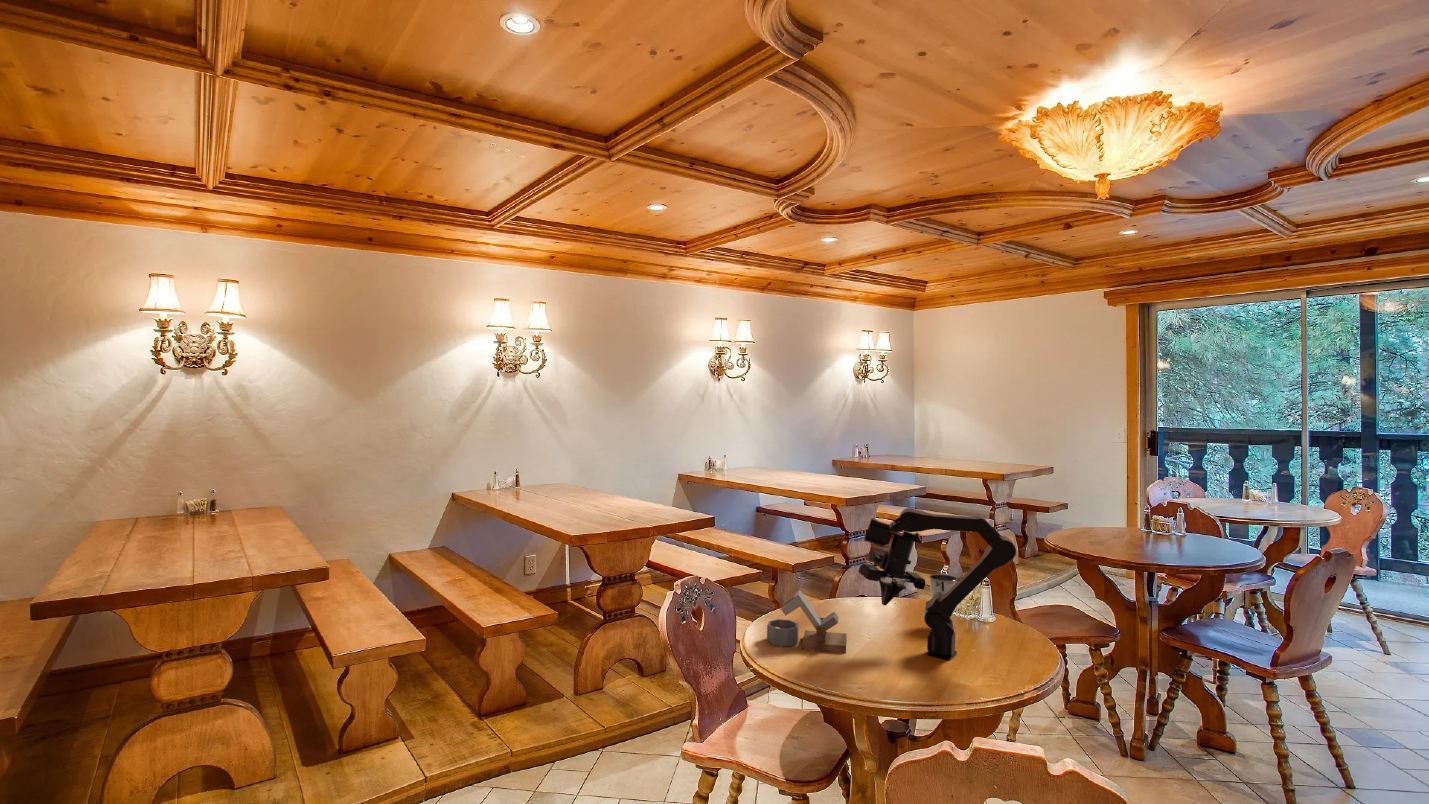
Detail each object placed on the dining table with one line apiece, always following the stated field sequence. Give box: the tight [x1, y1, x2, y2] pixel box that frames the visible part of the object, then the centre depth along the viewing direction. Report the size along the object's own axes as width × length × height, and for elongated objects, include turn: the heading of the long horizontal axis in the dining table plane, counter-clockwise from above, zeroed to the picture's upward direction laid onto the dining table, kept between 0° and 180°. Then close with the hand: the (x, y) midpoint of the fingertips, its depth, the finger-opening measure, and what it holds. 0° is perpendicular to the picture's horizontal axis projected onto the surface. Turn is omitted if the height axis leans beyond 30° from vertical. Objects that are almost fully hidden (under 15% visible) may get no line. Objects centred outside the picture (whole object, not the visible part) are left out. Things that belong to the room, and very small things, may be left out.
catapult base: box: [801, 617, 848, 654], centre depth 203 cm, size 12×10×6 cm
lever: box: [780, 589, 840, 632], centre depth 204 cm, size 11×6×13 cm
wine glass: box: [929, 573, 958, 628], centre depth 221 cm, size 8×8×15 cm
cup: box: [766, 618, 800, 648], centre depth 206 cm, size 9×9×5 cm
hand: (883, 604), depth 201 cm, fingers closed
